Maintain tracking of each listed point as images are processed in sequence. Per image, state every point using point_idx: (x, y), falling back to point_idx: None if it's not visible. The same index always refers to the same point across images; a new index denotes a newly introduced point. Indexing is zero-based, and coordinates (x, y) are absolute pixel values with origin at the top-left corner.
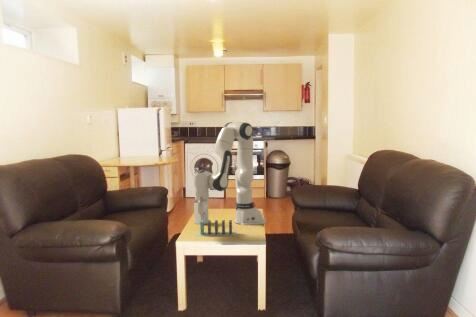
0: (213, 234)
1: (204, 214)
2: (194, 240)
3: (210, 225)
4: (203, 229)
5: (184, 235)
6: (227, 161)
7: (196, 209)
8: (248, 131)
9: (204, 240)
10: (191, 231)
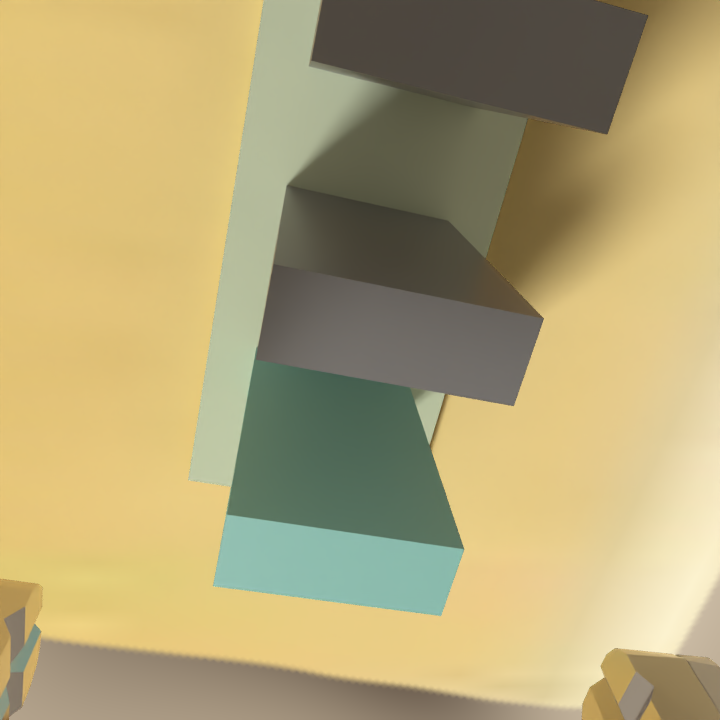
0: (462, 148)
1: (27, 622)
2: (635, 529)
3: (443, 264)
4: (345, 405)
5: (321, 666)
6: None
7: None
8: None
9: (712, 369)
10: (104, 564)
